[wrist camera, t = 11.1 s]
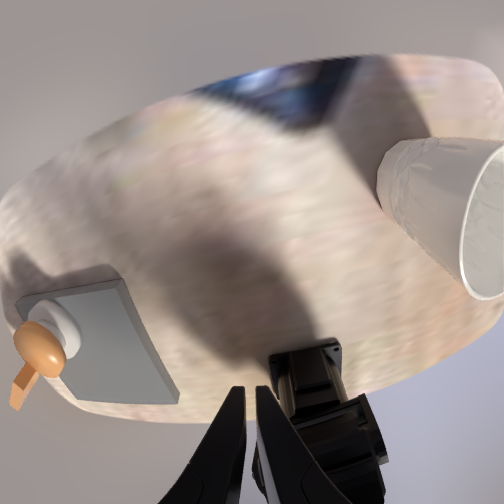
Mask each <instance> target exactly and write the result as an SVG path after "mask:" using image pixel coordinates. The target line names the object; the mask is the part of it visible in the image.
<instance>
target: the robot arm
mask: <svg viewBox="0 0 504 504" xmlns="http://www.w3.org/2000/svg"><path fill="white" fill-rule="evenodd" d="M336 347H337V348H336ZM334 348H335V349H334ZM268 360H269V366H270V370H271V375H272V379H273V383H274V387H275V391H276V396H277V399H278V400H280V405H279V403H278V401H277V400H276V398H275V396H274V395H273V393H272V391H271V390H270V388H269V387H268V386H266V385H264V386H256V388H255V392H256V424H257V441H256V447H255V453H254V458H253V463H252V472H253V473H252V477H253V479H254V480H255V481H256V484H257V486H258V488H259V490H260V491H261V493H262V494H264V496H265V498H266V500H267V503H268V504H384V495H385V493H386V489H385V486H384V482H383V478H382V475H381V471H380V468H379V465H382V464H385V463H387V462H389V460H388V455H387V451H386V448H385V444H384V441H383V438H382V435H381V432H380V429H379V427H378V424H377V422H376V419H375V417H374V415H373V412H372V410H371V407H370V405H369V403H368V400H367V398H366V396H365V393H363V394H361V395H358V397H356V398H354V399H351V400H348V397H347V394H346V391H345V388H344V385H343V382H342V379H341V366H342V347H341V345H340V343H338V342H335V343H331V344H326V345H322V346H317V347H312V348H308V349H303V350H297V351H292V352H287V353H281V354H275V355H271V356H270V357H269V359H268ZM273 360H275V361H273ZM246 437H247V435H246V397H245V387H244V386H233V387H232V388H231V390H230V391H229V393H228V395H227V397H226V399H225V401H224V402H223V404H222V406H221V408H220V409H219V411H218V413H217V415H216V417H215V418H214V420H213V422H212V424H211V425H210V427H209V429H208V431H207V433H206V434H205V436H204V437H203V439H202V441H201V443H200V444H199V446H198V448H197V449H196V451H195V453H194V454H193V456H192V458H191V459H190V461H189V463H188V464H187V466H186V467H185V469H184V471H183V472H182V474H181V475H180V477H179V478H178V480H177V481H176V483H175V484H174V485H173V486H172V488H171V489H170V490H169V491H168V493H167V494H166V495H165V496H164V497H163V498H162V499H161V500H160V502H159V503H158V504H239V498H240V491H241V483H242V476H243V468H244V460H245V452H246V439H247V438H246Z"/></svg>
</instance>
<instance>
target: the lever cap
mask: <svg viewBox="0 0 504 504" xmlns="http://www.w3.org/2000/svg"><path fill="white" fill-rule="evenodd" d="M13 339H14V344H15V347H16V349H17V350H18V352H19V354H20V355H21V357H22V358H23V360H24V361H25V362H26V364H25V365H24V367H23V368H22V370H21V371H20V372H19V374H18V375H17V377H16V378H15V380H14V381H13V385H12V390H11V396H10V402H9V404H10V405H11V406H12V407H13V408H14V409H16V410H17V411H18V410H19V408H20V407H21V405H22V403H23V402H24V400H25V398H26V397H27V395H28V393H29V392H30V390H31V388H32V387H33V385H34V383H35V382H36V380H37V378H38V376H39V374H41V375H43V376H46V377H49V378H56V377H58V376H59V374H60V372H61V371H62V369H63V368H64V366H65V364H66V361H67V359H66V354H65V351H64V349H63V347H62V346H61V344H60V343H59V341H58V340H57V339H56V338H55V336H54V335H53V334H52V333H51V332H50V331H48V330H47V329H46V328H45V327H43V326H42V325H40V324H38V323H36V322H34V321H25V322H24V323H23V324H22V325H21V326H20V327H19V328H18V330H17V331H16V332H15V333H14V336H13Z"/></svg>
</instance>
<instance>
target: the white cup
mask: <svg viewBox="0 0 504 504" xmlns="http://www.w3.org/2000/svg"><path fill="white" fill-rule="evenodd" d="M376 192H377V195H378V198H379V201H380V204H381V207H382V210H383V211H384V212H385V213H386V214H387V216H388V217H389V218H390V219H391V220H392V221H393V222H394V223H395V224H396V225H398V226H399V227H400V228H402V229H403V231H404V232H405V233H406V234H407V235H408V236H409V237H410V238H411V239H412V240H414V241H415V242H416V243H417V244H418V245H419V246H420V247H421V248H422V249H423V250H425V252H426V253H427V254H428V255H430V256H431V257H432V258H433V259H434V260H435V261H436V262H437V263H438V264H440V265H441V266H442V267H443V268H444V269H445V270H446V271H447V272H448V273H449V274H450V275H451V276H452V277H453V278H454V279H455V280H456V281H458V282H459V283H460V284H461V285H462V286H463V287H464V288H465V290H466V291H467V292H468V293H469V294H470V295H472V296H473V297H474V298H476V299H479V300H490V299H494V298H496V297H499V296H500V295H502V294H504V141H499V140H489V139H477V138H462V137H429V138H426V139H420V138H417V139H409V140H401V141H399V142H398V143H397V144H396V145H394V146H393V147H392V148H391V149H389V150H388V151H387V152H386V153H385V156H384V158H383V160H382V162H381V164H380V166H379V168H378V170H377V187H376Z"/></svg>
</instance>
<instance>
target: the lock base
mask: <svg viewBox="0 0 504 504" xmlns="http://www.w3.org/2000/svg"><path fill="white" fill-rule="evenodd" d="M14 305H15V306H16V308H17V310H18V312H19V314H20V316H21V318H22V320H23V321H24V322H25V321H34V322H36V323H38V324H40V325H42V326H43V327H45V328H46V329H47V330H48V331H50V332H51V333H52V334H53V335H54V336H55V338H56V339H57V340H58V341H59V343H60V344H61V346H62V347H63V349H64V351H65V354H66V359H67V361H66V364H65V366H64V368H63V369H62V371H61V372H60V374H59V377H60V378H61V380H62V381H63V382H64V384H65V385H66V386H67V388H68V389H69V390H70V391H71V393H72V394H73V395H74V396H75V398H76V399H77V400H86V401H96V402H108V403H123V404H178V400H179V395H180V393H179V391H178V389H177V388H176V386H175V384H174V382H173V381H172V379H171V377H170V375H169V374H168V372H167V370H166V368H165V366H164V365H163V363H162V361H161V359H160V357H159V355H158V353H157V351H156V349H155V347H154V346H153V344H152V342H151V340H150V338H149V336H148V334H147V331H146V329H145V327H144V325H143V323H142V321H141V319H140V317H139V315H138V312H137V310H136V308H135V306H134V303H133V301H132V299H131V297H130V294H129V292H128V290H127V287H126V285H125V282H124V280H123V279H118V280H112V281H107V282H101V283H96V284H90V285H85V286H79V287H74V288H68V289H63V290H57V291H52V292H46V293H41V294H35V295H30V296H24V297H21V298H20V299H19V300H18V301H17V302H16V303H15V304H14Z"/></svg>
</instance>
